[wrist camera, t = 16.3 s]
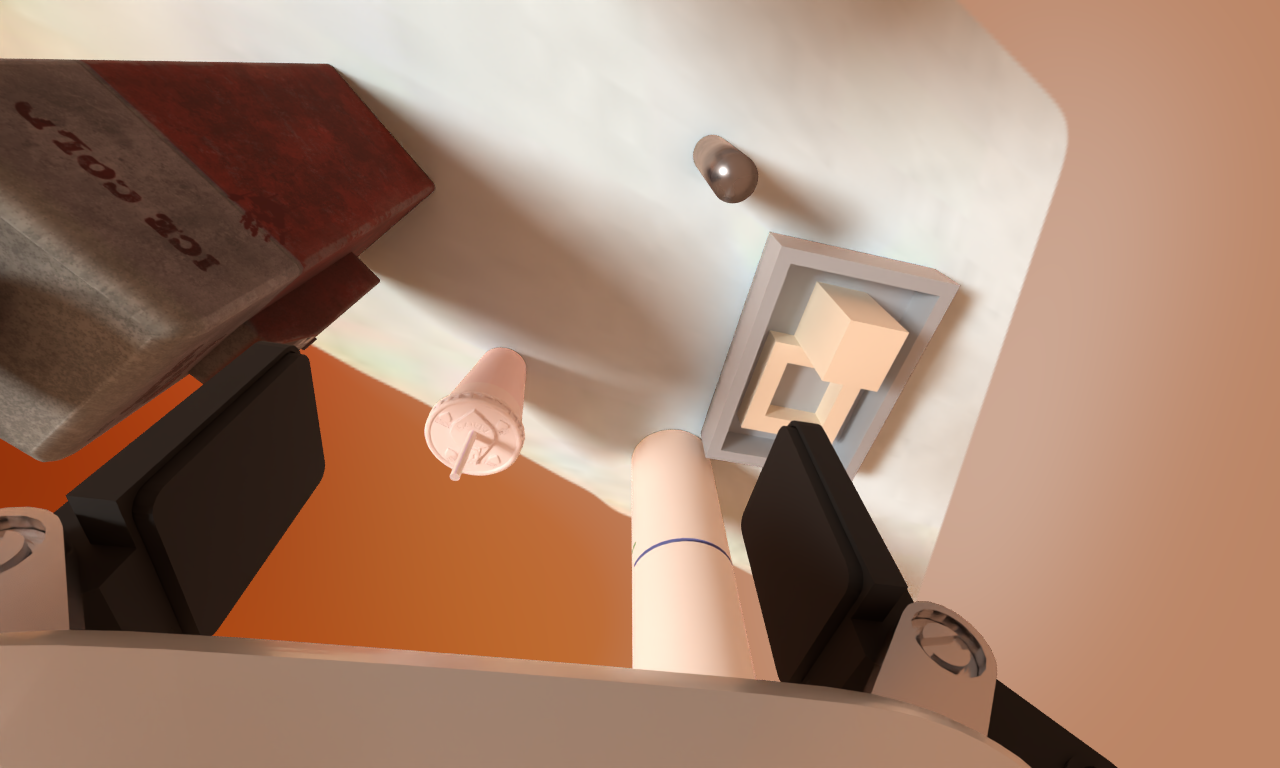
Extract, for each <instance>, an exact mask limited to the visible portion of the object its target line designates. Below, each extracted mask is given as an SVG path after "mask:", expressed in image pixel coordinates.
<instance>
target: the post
mask: <svg viewBox="0 0 1280 768" xmlns="http://www.w3.org/2000/svg"><path fill="white" fill-rule="evenodd" d="M693 160H694V163H695V165H696V167H697V168H698V170H699V171H700V173H701V174H702V176H703V177H704V179H705V180H706V181H707V183H708V184H709V186H710V187H711V189H712V190H713V192H714V193H715V194H716V196H717V197H718V198H719V199H721V200H722V201H724V202H727V203H738V202H741V201H743V200H745V199H746V198H748V197H749V196H750V195H751V194H752V193H753V191H754V189H755V188H756V185H757V181H758V171H757V168H756V165H755V164H754V162H753V161H752V160H751V159H750V158H749V157H747V156H746V155H745V154H743V153H742V152H741V151H739V150H738V149H736V148H735V147H734V146H732V145H731V144H730V143H728V142H727V141H726V140H724V139H723V138H722V137H720V136H717V135H708V136H705V137H703V138H702V139H700V140H699V141H698V143H697V144H696V146H695V148H694V152H693Z"/></svg>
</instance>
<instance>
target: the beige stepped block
mask: <svg viewBox="0 0 1280 768" xmlns="http://www.w3.org/2000/svg"><path fill="white" fill-rule="evenodd" d="M908 334H909V332H908V331H907V330H906V329H905V328H904V327H902V326H901V325H900V324H899V323H898V322H897V321H896V320H895V319H894V318H893V317H892V316H891V315H890V314H889V313H888V312H887V311H885V310H884V309H883V308H882V307H881V306H880V305H879V304H878V303H877V302H876V301H875V300H874V299H873V298H872V297H871V296H870V295H868V294H867V293H866V292H861V291H857V290H853V289H848V288H844V287H839V286H835V285H831V284H826V283H822V282H818V281H817V282H816V284H815V287H814V289H813V291H812V294H811V296H810V299H809V301H808V303H807V306H806V308H805V310H804V313H803V315H802V318H801V320H800V322H799V325H798V327H797V329H796V332H795V334H794V335H790V334H786V333H781V332H776V331H772V330H770V331H769V334H768V336H767V339H766V341H765V344H764V346H763V349H762V352H761V354H760V357H759V359H758V362H757V364H756V367H755V369H754V372H753V374H752V377H751V380H750V382H749V385H748V387H747V390H746V392H745V395H744V397H743V400H742V403H741V405H740V408H739V410H738V413H737V415H738V418H739V422H740V425H741V428H746V429H752V430H757V431H763V432H768V433H774V434H777V433H778V431H779V429H780V428H781V427H782V426H788V424H789V423H790V422H791V421H794V420H795V421H802V422H809V423H816V424H819V425H821V426H822V427H823V429H824V431H825V433H826V434H827V436H828V438H829V440H830V442H831V444H832V443H833V441H834V439H835V438H836V436H837V434H838V432H839V430H840V428H841V426H842V424H843V422H844V420H845V418H846V416H847V415H848V413H849V411H850V409H851V407H852V405H853V403H854V401H855V399H856V397H857V395H858V393H859V392H860V390H861V389H865V390H870V391H875V392H877V391H878V390H879V388H880V386H881V384H882V382H883V380H884V379H885V377H886V375H887V373H888V371H889V369H890V367H891V366H892V364H893V362H894V360H895V358H896V356H897V354H898V353H899V351H900V349H901V347H902V345H903V343H904V342H905V340H906V338H907V336H908ZM787 363H791V364H796V365H801V366H806V367H811V368H815V370H816V372H817V373H818V375H819V376H820V378H821V380H822V381H826V382H830V383H829V385H828V388H827V390H826V392H825V394H824V396H823V398H822V400H821V402H820V404H819V406H818V408H817V410H816V412H815V413H812V412H806V411H801V410H796V409H791V408H786V407H780V406H775V405H770V403H771V401H772V398H773V396H774V394H775V391H776V389H777V387H778V384H779V382H780V380H781V377H782V375H783V373H784V370H785V368H786V365H787Z"/></svg>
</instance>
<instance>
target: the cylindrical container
mask: <svg viewBox="0 0 1280 768" xmlns="http://www.w3.org/2000/svg"><path fill="white" fill-rule="evenodd" d="M631 470H632V625H633V626H632V630H633V631H632V632H633V634H632V635H633V636H632V637H633V638H632V640H633V641H632V642H633V669H643V670H655V671H666V672H678V673H690V674H701V675H713V676H725V677H736V678H747V679H756V676H755V672H754V667H753V662H752V657H751V652H750V648H749V643H748V638H747V633H746V629H745V624H744V619H743V614H742V609H741V604H740V599H739V594H738V590H737V585H736V580H735V575H734V571H733V567H732V561H731V556H730V551H729V546H728V542H727V537H726V532H725V527H724V523H723V518H722V513H721V508H720V504H719V499H718V494H717V489H716V484H715V479H714V475H713V470H712V465H711V460H710V458H706V457H705V452H704V447H703V442H702V440H700V439H699V438H698V437H697V436H695V435H693V434H691V433H689V432H686V431H682V430H672V429H670V430H662V431H659V432H655V433H653V434H651V435H649V436H647V437H646V438H644V439H643V440H642V441H641V442H640V443H639V444H638V445H637V446H636V448H635V450H634V452H633V455H632V462H631Z"/></svg>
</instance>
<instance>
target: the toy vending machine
mask: <svg viewBox="0 0 1280 768" xmlns="http://www.w3.org/2000/svg"><path fill="white" fill-rule="evenodd" d="M434 189H435V185H434V183H433V182H432V181H431V180H430V179H429V177H428V176H427V175H426V174H425V173H424V172H423V170H422V169H421V168H420V167H419V166H418V165H417V164H416V162H415V161H414V160H413V159H412V158H411V157H410V155H409V154H408V153H407V152H406V151H405V150H404V149H403V147H402V146H401V145H400V144H399V143H398V142H397V140H396V139H395V138H394V137H393V136H392V135H391V134H390V132H389V131H388V130H387V129H386V128H385V127H384V125H383V124H382V123H381V122H380V121H379V120H378V119H377V117H376V116H375V115H374V114H373V113H372V112H371V110H370V109H369V108H368V107H367V106H366V105H365V104H364V102H363V101H362V100H361V99H360V98H359V97H358V95H357V94H356V93H355V92H354V91H353V90H352V89H351V87H350V86H349V85H348V84H347V83H346V82H345V80H344V79H343V78H342V77H341V76H340V75H339V74H338V72H337V71H336V70H335V69H334V68H333V67H332V66H331V65H329V64H304V63H242V62H181V61H120V60H59V59H0V438H1V439H3V440H4V441H6V442H8V443H9V444H11V445H13V446H15V447H16V448H18V449H19V450H21V451H23V452H25V453H26V454H28V455H30V456H31V457H33V458H35V459H36V460H39V461H42V462H48V461H56V460H60V459H63V458H65V457H67V456H69V455H72V454H74V453H76V452H77V451H79V450H80V449H82V448H83V447H84V446H86V445H87V444H89V443H90V442H92V441H93V440H94V439H96V438H97V437H99V436H100V435H102V434H103V433H105V432H106V431H107V430H109V429H110V428H112V427H113V426H114V425H116V424H118V423H119V422H120V421H122V420H123V419H125V418H126V417H128V416H129V415H130V414H132V413H133V412H135V411H136V410H138V409H139V408H141V407H142V406H144V405H145V404H146V403H148V402H149V401H151V400H152V399H154V398H155V397H156V396H158V395H159V394H161V393H162V392H164V391H165V390H167V389H168V388H170V387H171V386H172V385H174V384H175V383H177V382H178V381H180V380H181V379H182V378H184V377H185V376H187V375H188V374H190V375H192V376H193V377H195V378H196V379H197V380H198V381H200V382H201V383H203V384H205V383H206V382H207V381H208V380H210V379H211V378H212V377H213V376H215V375H216V374H217V373H218V372H220V371H221V370H222V369H223V368H225V367H226V366H227V365H228V364H230V363H231V362H232V361H233V360H235V359H236V358H237V357H238V356H239V355H241V354H242V353H243V352H244V351H246V350H247V349H248V348H249V347H251V346H252V345H253V344H254V343H256V342H258V341H268V342H274V343H281V344H288V345H294V346H296V347H297V348H298V349H299V350H300V349H302V350H305V349H306V348H307V347H308V346H309V345H311V344H312V343H313V342H314V341H315V340H317V339H316V338H315V337H316V336H317V335H318V334H320V333H321V332H322V331H323V330H324V329H325V328H327V327H328V326H329V325H330V324H331V323H332V322H334V321H335V320H336V319H337V318H338V317H339V316H341V315H342V314H343V313H344V312H345V311H346V310H348V309H349V308H350V307H351V306H352V305H353V304H355V303H356V302H357V301H358V300H359V299H361V298H362V297H363V296H364V295H365V294H366V293H368V292H369V291H370V290H371V289H372V288H373V287H375V286H376V285H377V284H378V283H379V282H380V279H379V278H378V277H377V276H376V275H375V274H374V273H373V272H372V271H371V270H370V269H369V268H368V267H367V266H366V265H365V264H364V263H363V262H362V261H361V260H360V259H359V258H358V257H357V256H359V255H360V254H361V253H362V252H363V251H364V250H366V249H367V248H368V247H369V246H370V245H371V244H373V243H374V242H375V241H376V240H377V239H378V238H380V237H381V236H382V235H383V234H384V233H385V232H387V231H388V230H389V229H390V228H391V227H392V226H394V225H395V224H396V223H397V222H398V221H399V220H401V219H402V218H403V217H404V216H405V215H406V214H408V213H409V212H410V211H411V210H412V209H413V208H414V207H416V206H417V205H418V204H419V203H420V202H421V201H423V200H424V199H425V198H426V197H427V196H428V195H430V194H431V193H432V192H433V191H434Z"/></svg>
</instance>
